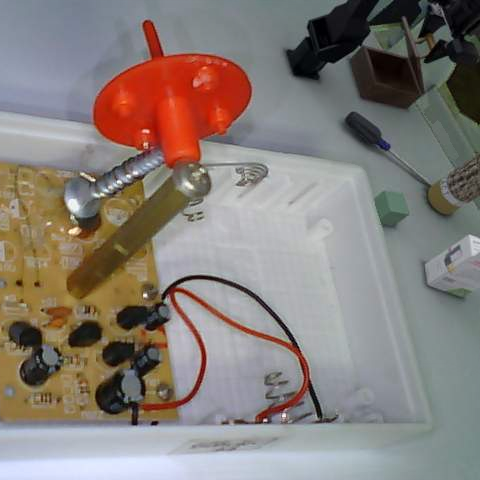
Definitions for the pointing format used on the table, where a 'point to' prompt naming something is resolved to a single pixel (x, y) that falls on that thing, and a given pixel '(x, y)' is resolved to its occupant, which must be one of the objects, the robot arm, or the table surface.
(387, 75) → the chest
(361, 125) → the screwdriver
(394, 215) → the block
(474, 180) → the canister
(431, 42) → the lid
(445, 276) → the ink box
